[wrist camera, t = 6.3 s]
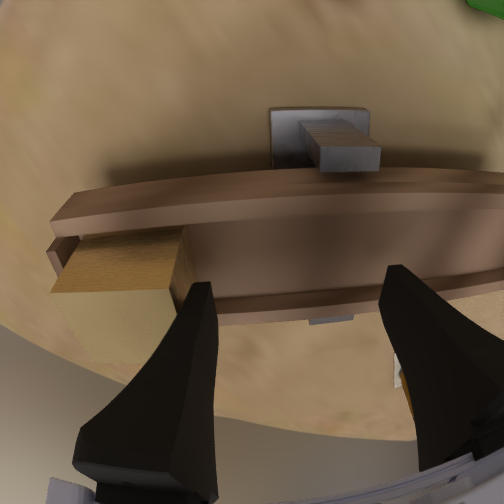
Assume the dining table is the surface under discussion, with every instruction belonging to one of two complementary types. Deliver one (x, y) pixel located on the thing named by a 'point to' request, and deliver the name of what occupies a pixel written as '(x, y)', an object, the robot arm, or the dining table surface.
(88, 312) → the wooden cube block
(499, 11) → the fruit basket
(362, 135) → the pivot stand
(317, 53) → the dining table surface
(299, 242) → the balance beam
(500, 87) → the dining table surface
